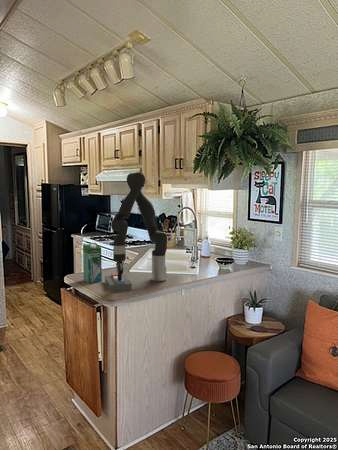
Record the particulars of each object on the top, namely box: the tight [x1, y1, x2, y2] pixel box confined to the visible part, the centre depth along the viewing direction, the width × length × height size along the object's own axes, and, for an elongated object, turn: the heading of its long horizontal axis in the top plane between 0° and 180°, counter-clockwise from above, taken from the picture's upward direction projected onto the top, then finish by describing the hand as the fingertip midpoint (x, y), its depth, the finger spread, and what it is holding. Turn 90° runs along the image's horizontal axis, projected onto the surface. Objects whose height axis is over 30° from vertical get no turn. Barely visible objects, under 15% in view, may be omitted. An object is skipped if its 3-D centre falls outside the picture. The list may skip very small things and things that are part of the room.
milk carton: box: [82, 242, 103, 284], centre depth 218 cm, size 9×9×25 cm
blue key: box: [115, 279, 125, 285], centre depth 202 cm, size 5×5×3 cm
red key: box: [110, 272, 118, 278], centre depth 216 cm, size 5×5×3 cm
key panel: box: [104, 274, 133, 293], centre depth 209 cm, size 13×22×4 cm, turn 19°
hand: (119, 280), depth 202 cm, fingers closed
